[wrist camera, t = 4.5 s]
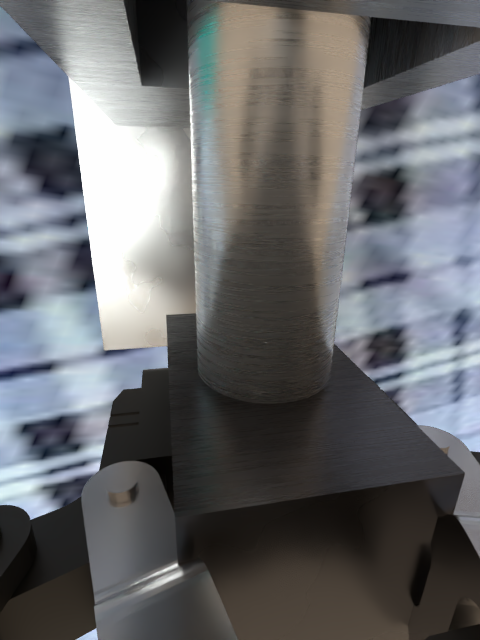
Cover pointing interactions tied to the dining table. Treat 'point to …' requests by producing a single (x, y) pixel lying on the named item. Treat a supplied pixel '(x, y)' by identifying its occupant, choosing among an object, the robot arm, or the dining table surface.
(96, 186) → the pillow blocks
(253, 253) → the shaft
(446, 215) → the dining table surface
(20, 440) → the dining table surface
